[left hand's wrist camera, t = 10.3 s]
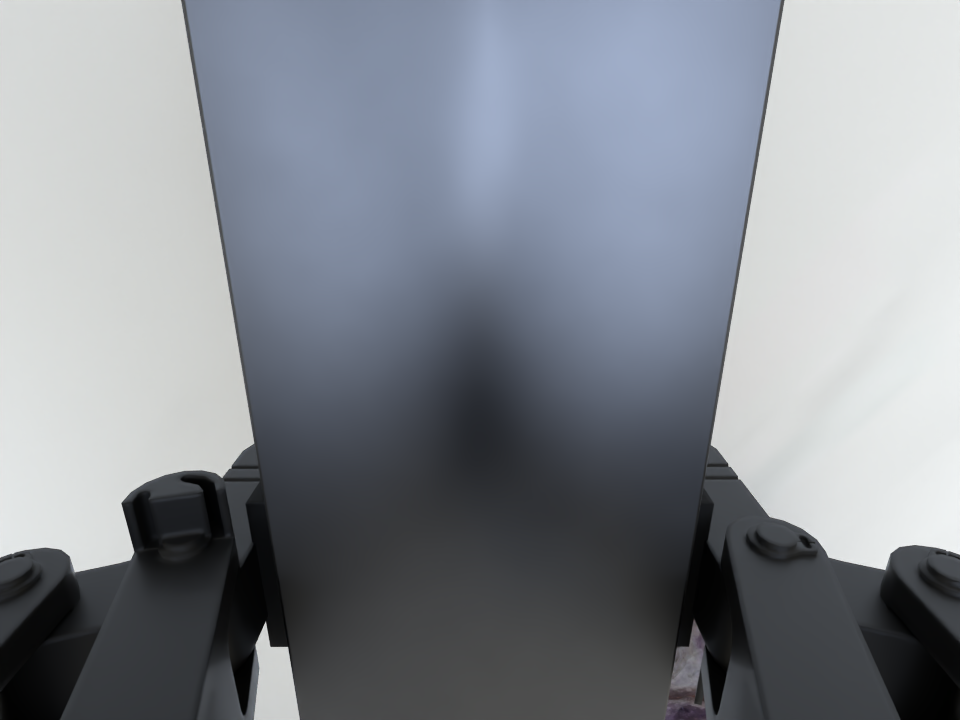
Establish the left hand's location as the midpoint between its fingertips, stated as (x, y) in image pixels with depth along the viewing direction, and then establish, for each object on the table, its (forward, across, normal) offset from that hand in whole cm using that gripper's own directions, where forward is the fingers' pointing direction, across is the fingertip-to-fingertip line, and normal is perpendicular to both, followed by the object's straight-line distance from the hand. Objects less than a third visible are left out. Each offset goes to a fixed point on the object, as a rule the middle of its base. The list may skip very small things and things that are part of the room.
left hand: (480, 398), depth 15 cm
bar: (+1, 0, -8) cm, 8 cm away
